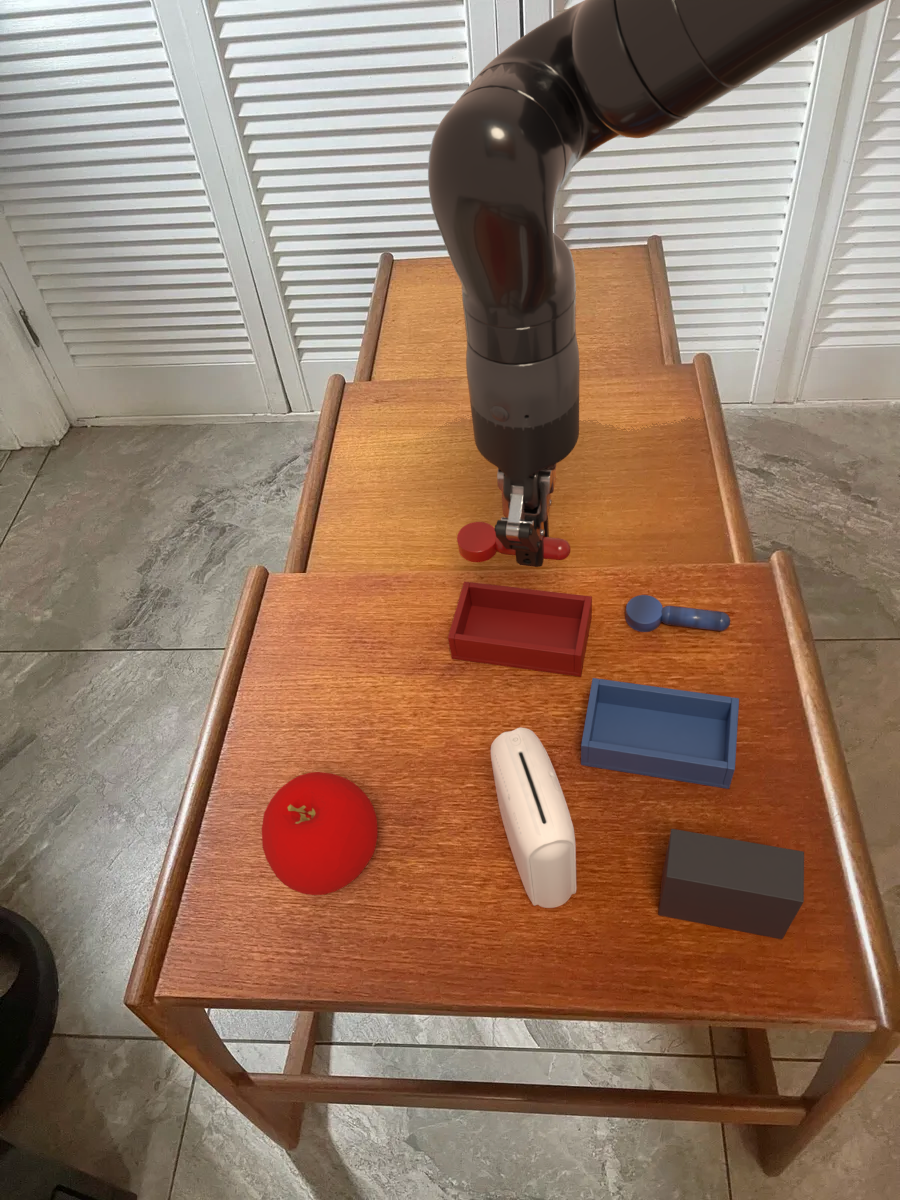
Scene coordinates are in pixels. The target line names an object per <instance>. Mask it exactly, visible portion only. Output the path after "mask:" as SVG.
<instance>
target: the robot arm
mask: <svg viewBox="0 0 900 1200" xmlns="http://www.w3.org/2000/svg"><path fill="white" fill-rule="evenodd" d="M885 1H886V0H582V1H581V2H579V3H576V4H574V5H572V6H571V7H569V8H567V9H565V10H564V11H562V12H560V13H558V14H557V15H555V16H554V17H552V18H550V19H548V20H547V21H545V22H543V23H542V24H540V25H539V26H537V27H535V28H534V29H532V30H530V31H529V32H527V33H526V34H525V35H523V36H521V37H520V38H518V39H517V40H516V41H515V42H513V43H512V44H511V45H509V46H507V48H505V49H504V50H503V51H501V52H500V54H498V55H496V56H495V57H494V58H493V59H492V60H491V61H489V63H488V64H486V66H485V67H484V68H483V69H482V70H481V71H480V72H479V73H478V74H477V75H476V77H475V78H474V79H473V81H472V82H471V83H470V84H469V86H468V87H467V88H466V89H465V91H464V92H463V93H462V94H461V95H460V96H459V98H458V99H457V100H456V101H455V103H454V104H453V105H452V106H451V108H450V109H449V110H448V111H447V112H446V114H445V115H444V117H443V118H442V119H441V120H440V122H439V124H438V126H437V127H436V130H435V131H434V134H433V136H432V139H431V144H430V148H429V153H428V154H429V155H428V162H427V163H428V164H427V184H428V193H429V201H430V205H431V209H432V213H433V217H434V219H435V222H436V225H437V227H438V231H439V233H440V236H441V238H442V241H443V243H444V246H445V248H446V251H447V254H448V256H449V260H450V262H451V265H452V267H453V268H454V272H455V273H456V275H457V277H458V280H459V282H460V284H461V300H462V310H463V318H464V326H465V335H466V352H465V353H466V355H465V367H466V378H467V379H466V380H467V387H468V395H469V403H470V412H471V413H470V414H471V421H472V429H473V430H472V432H473V438H474V439H473V440H474V444H475V446H476V448H477V450H478V452H479V454H480V455H481V456H482V457H483V458H484V459H485V460H486V461H487V462H489V463H490V464H491V465H493V466H494V467H496V468H497V474H496V480H497V488H498V490H499V491H500V492H501V504H502V505H501V506H502V507H501V508H502V515H503V516H501V517H500V519H497V520H496V523H495V525H494V528H495V533H496V537H497V538H498V539H499V541H500V542H501V543H502V544H503V546H504V547H505V548H506V549H512V550H515V553H516V556H515V562H516V563H517V565H519V566H525V567H533V568H540V567H542V566H543V564H544V561H545V559H544V544H543V537H550V532H549V527H550V525H549V512H550V508H551V506H552V503H553V500H552V497H551V496H552V495H551V494H553V493H554V491H555V487H556V483H557V464H559V463H560V462H562V461H563V460H564V459H565V458H567V457H568V456H569V455H570V454H571V452H572V451H573V450H574V449H575V446H576V445H577V443H578V440H579V437H580V436H579V435H580V350H579V344H578V339H577V338H578V337H577V328H576V327H577V325H576V322H577V321H576V319H577V318H576V317H577V315H576V314H577V313H576V312H577V311H576V310H577V309H576V307H577V306H576V305H577V304H576V302H577V300H576V299H577V296H576V295H577V294H576V292H577V285H576V284H577V283H576V269H575V262H574V258H573V255H572V252H571V250H570V248H569V246H568V244H567V243H566V242H565V240H564V239H562V238H561V236H560V235H558V234H557V233H555V232H554V216H555V215H554V213H555V203H556V197H557V195H558V193H559V191H560V189H561V188H562V186H563V185H564V183H565V181H566V180H567V178H568V177H569V175H570V173H571V171H572V170H573V168H574V167H575V166H576V165H577V164H578V163H580V162H581V160H583V159H584V158H585V157H587V156H588V155H589V154H590V153H592V152H593V151H595V150H596V149H598V148H600V147H601V146H602V145H604V144H606V143H607V142H609V141H611V140H613V139H615V138H617V137H618V136H622V137H625V138H630V139H642V138H647V137H651V136H653V135H657V134H660V133H661V132H663V131H665V130H668V129H669V128H671V127H673V126H675V125H677V124H679V123H681V122H682V121H684V120H686V119H688V118H689V117H691V116H692V115H695V114H697V112H699V111H701V110H702V109H704V108H706V107H708V106H709V105H711V104H713V103H714V102H716V101H717V100H718V101H719V99H721V98H722V97H724V96H726V95H728V94H729V93H731V92H733V91H735V90H736V89H737V88H739V87H741V86H743V85H744V84H746V83H747V82H748V81H750V80H752V79H753V78H755V77H757V76H758V75H761V74H762V73H763V72H765V71H766V70H768V69H770V68H771V67H773V66H775V65H777V64H778V63H779V62H781V61H783V60H784V59H786V58H789V56H791V55H793V54H795V53H796V52H798V51H799V50H801V49H803V48H804V47H806V46H808V45H809V44H811V43H813V42H815V41H816V40H818V39H820V38H822V37H823V36H825V35H827V34H828V33H830V32H832V31H833V30H836V29H837V28H839V27H840V26H842V25H844V24H845V23H847V22H849V21H851V20H853V19H855V18H856V17H858V16H861V15H862V14H863V13H865V12H867V11H869V10H871V9H873V8H874V7H876V6H878V5H880V4H882V3H883V2H885Z"/></svg>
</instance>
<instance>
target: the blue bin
mask: <svg viewBox="0 0 900 1200" xmlns="http://www.w3.org/2000/svg"><path fill="white" fill-rule="evenodd" d="M739 706H740V698H739V697H733V696H725V695H718V694H713V693H712V694H711V693H705V692H704V693H703V692H696V691H691V690H690V691H689V690H683V689H675V688H670V687H669V688H668V687H662V686H655V685H646V684H638V683H632V682H625V681H618V680H610V679H605V678H596V677H592V680H591V685H590V691H589V697H588V703H587V708H586V714H585V721H584V726H583V731H582V738H581V744H580V765H581V766H584V767H592V768H598V769H603V770H610V771H616V772H622V773H628V774H633V775H640V776H646V777H653V778H660V779H665V780H671V781H672V780H673V781H677V782H684V783H689V784H696V785H701V786H702V785H703V786H706V787H707V786H708V787H713V788H714V787H715V788H721V789H726V790H729V789H730V788H731V784H732V781H733V777H734V774H735V771H736V762H737V761H736V759H737V758H736V757H737V741H738V725H739V709H740V707H739Z"/></svg>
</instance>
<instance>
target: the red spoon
mask: <svg viewBox="0 0 900 1200" xmlns="http://www.w3.org/2000/svg"><path fill="white" fill-rule="evenodd" d="M456 542H457V548H458V553H459V555H460V556H461V557H462V558H463V559H464V560H466V561H468V562H470V563H484V562H487V561H489V560H491V559H492V558H494V557H495V555H496V554H497V553H499V554H501V555H508V556H515V557H516V553H515V550H512V549H506V548H505V547H504V546H503V544H502V543H501V542H500V541H499V539H498V538H497V537H496V533H495V526H493V525H491V524H490V523H489V522H484V521H473V522H469V523H467V524H465V525H464V526H461V528H460V529H459V531H458V533H457V535H456ZM543 544H544V560H552V561H564V560H566V559H567V558H569V556H570V554H571V550H572V549H571V545H570V543H569V542H568V540H567V539H564V538H561V537H560V538H559V537H550V536H549V537H543Z"/></svg>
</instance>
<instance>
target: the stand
mask: <svg viewBox="0 0 900 1200" xmlns="http://www.w3.org/2000/svg"><path fill="white" fill-rule="evenodd" d="M662 867H663V868H662V872H661V873H662V874H661V883H660V884H661V885H660V893H659V904H658V913H657V915H658V916H660V917H666V918H670V919H675V920H681V921H686V922H691V923H697V924H701V925H707V926H712V927H715V928H716V927H717V928H722V929H726V930H733V931H737V932H741V933H747V934H754V935H758V936H763V937H768V938H772V939H778V940H783V939H784V938H785V936H786V934H787V932H788V931H789V929H790V927H791V925H792V923H793V922H794V920H795V918H796V916H797V914H798V912H799V911H800V909H801V907H802V906H803V904H804V902H805V895H804V894H805V851H802V850H797V849H792V848H791V849H790V848H786V847H779V846H774V845H769V844H762V843H757V842H750V841H745V840H739V839H734V838H728V837H723V836H716V835H711V834H706V833H699V832H693V831H688V830H682V829H676V828H670V831H669V838H668V843H667V847H666V853H665V857H664V862H663V866H662Z"/></svg>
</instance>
